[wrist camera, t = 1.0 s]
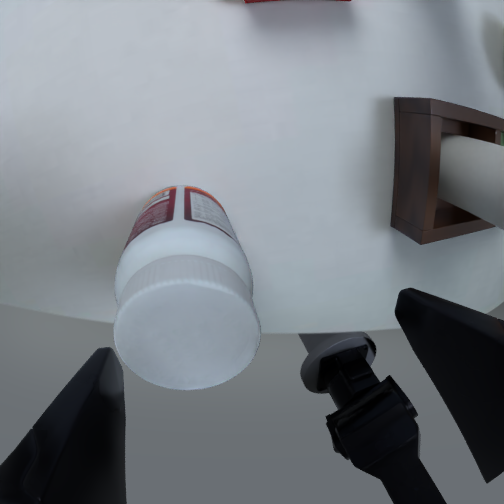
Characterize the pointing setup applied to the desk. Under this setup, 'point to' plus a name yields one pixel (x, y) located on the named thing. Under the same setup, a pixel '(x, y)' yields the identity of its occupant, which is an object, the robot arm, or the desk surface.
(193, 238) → the pill bottle
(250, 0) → the red slab
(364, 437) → the robot arm
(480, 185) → the pill bottle
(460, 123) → the rack
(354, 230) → the desk surface
